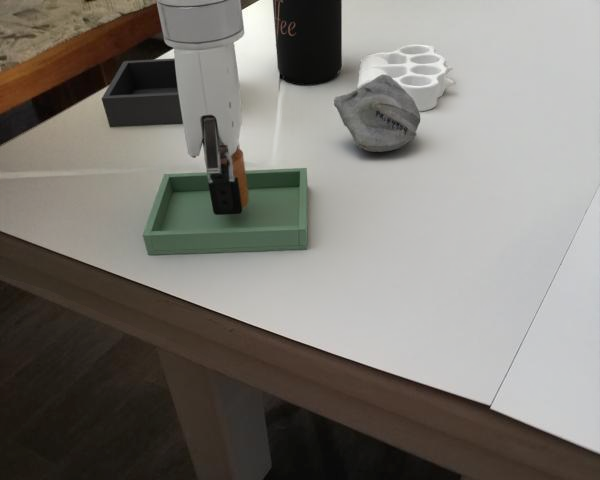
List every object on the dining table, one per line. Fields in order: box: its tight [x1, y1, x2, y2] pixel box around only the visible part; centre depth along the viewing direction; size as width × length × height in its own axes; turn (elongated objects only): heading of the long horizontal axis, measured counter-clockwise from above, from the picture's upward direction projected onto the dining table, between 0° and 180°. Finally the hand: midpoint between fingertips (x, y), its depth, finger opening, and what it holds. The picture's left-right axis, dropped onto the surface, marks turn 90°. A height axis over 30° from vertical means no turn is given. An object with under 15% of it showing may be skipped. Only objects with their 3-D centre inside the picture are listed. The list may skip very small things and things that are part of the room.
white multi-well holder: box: [356, 43, 456, 112], centre depth 91 cm, size 3×18×15 cm
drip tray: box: [142, 167, 309, 256], centre depth 68 cm, size 18×14×2 cm
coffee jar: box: [272, 0, 343, 86], centre depth 92 cm, size 11×11×18 cm
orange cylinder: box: [204, 147, 249, 208], centre depth 65 cm, size 4×4×6 cm
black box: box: [101, 57, 183, 128], centre depth 90 cm, size 15×15×5 cm
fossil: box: [333, 75, 421, 153], centre depth 77 cm, size 11×9×8 cm
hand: (230, 200), depth 67 cm, fingers closed on orange cylinder, 4 cm apart
